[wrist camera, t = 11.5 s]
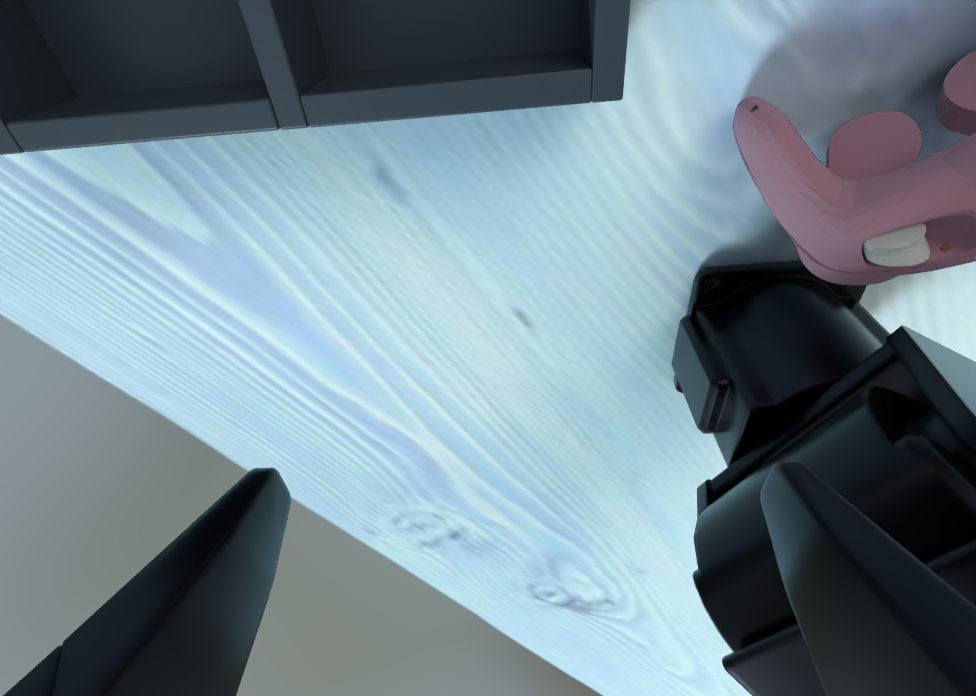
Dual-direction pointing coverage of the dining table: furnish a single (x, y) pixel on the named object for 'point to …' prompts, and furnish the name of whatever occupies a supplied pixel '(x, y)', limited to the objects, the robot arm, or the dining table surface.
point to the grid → (290, 64)
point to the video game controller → (870, 187)
